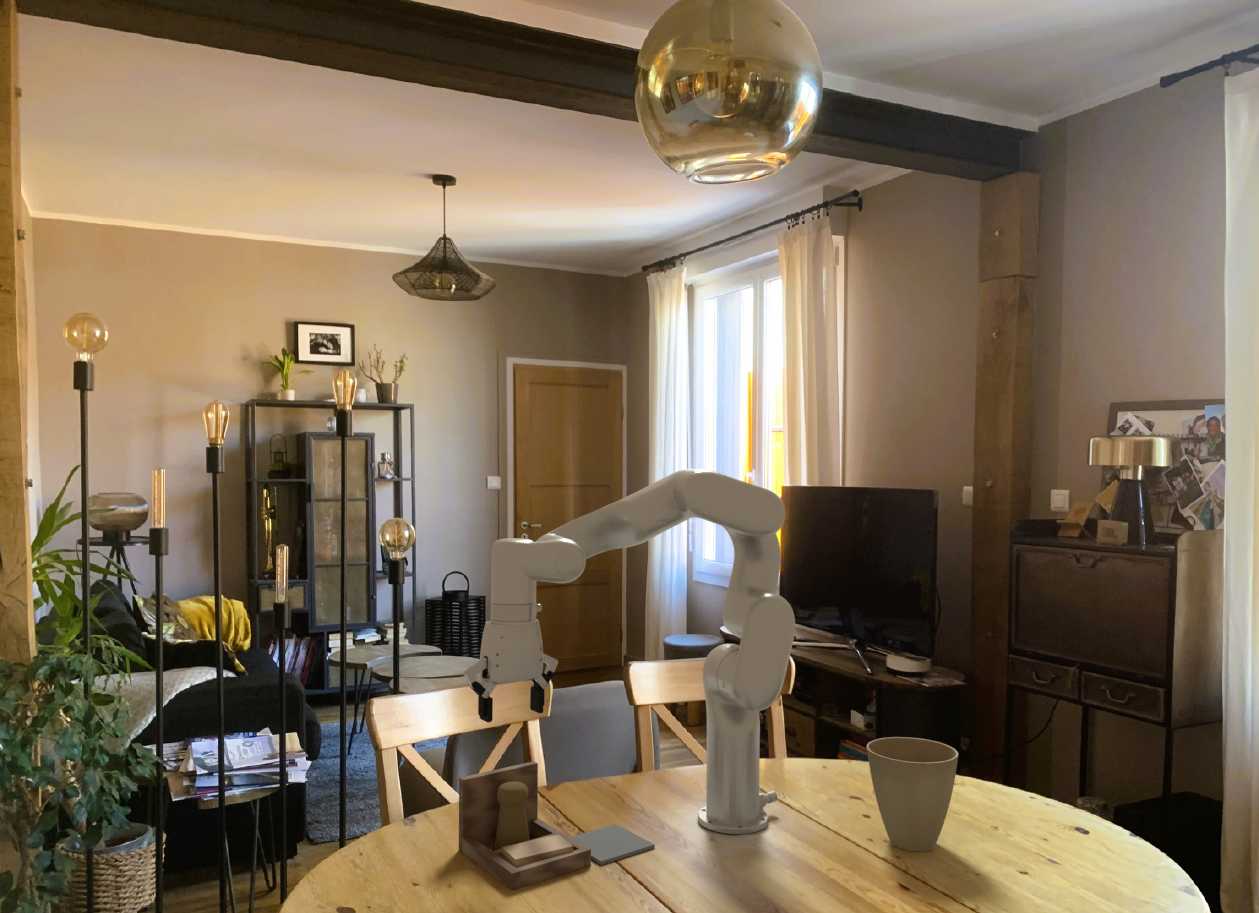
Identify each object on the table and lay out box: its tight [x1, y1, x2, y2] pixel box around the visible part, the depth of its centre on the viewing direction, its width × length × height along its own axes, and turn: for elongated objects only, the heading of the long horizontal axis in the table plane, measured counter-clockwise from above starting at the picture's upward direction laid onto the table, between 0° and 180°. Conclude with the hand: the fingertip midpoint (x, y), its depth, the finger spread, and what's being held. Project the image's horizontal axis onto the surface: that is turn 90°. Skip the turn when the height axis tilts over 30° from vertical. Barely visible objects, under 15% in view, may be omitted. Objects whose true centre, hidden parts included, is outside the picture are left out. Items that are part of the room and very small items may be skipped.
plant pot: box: [866, 736, 959, 853], centre depth 155 cm, size 15×15×16 cm
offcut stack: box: [502, 835, 573, 868], centre depth 145 cm, size 10×5×4 cm, turn 121°
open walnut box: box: [458, 760, 592, 891], centre depth 148 cm, size 14×18×12 cm
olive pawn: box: [493, 782, 530, 851], centre depth 151 cm, size 6×6×11 cm
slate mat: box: [570, 823, 656, 866], centre depth 153 cm, size 11×11×1 cm
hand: (511, 716), depth 151 cm, fingers open, 9 cm apart
